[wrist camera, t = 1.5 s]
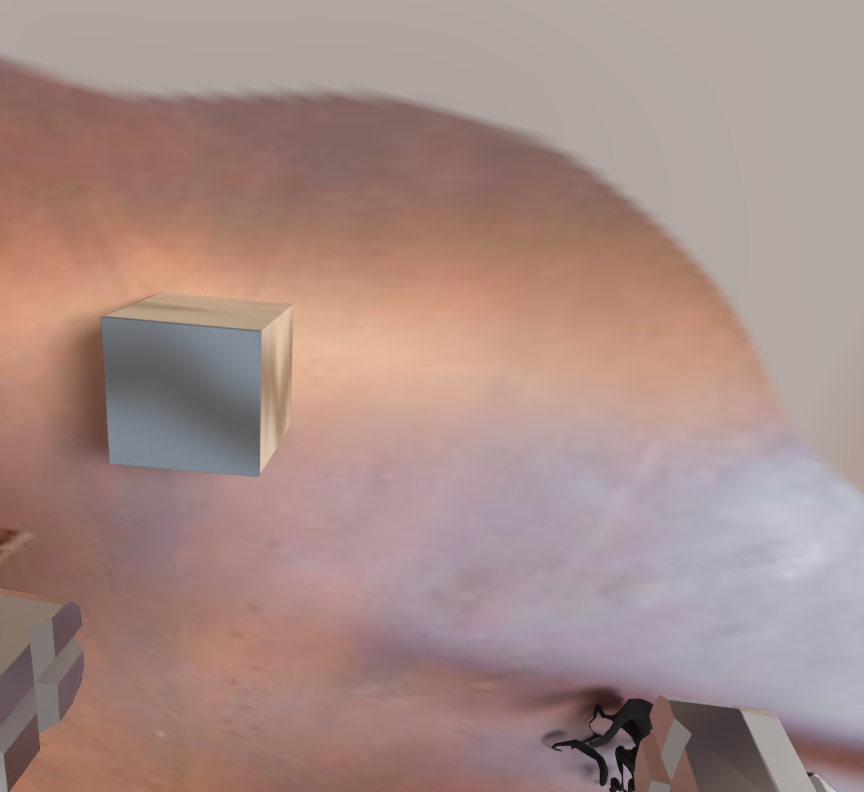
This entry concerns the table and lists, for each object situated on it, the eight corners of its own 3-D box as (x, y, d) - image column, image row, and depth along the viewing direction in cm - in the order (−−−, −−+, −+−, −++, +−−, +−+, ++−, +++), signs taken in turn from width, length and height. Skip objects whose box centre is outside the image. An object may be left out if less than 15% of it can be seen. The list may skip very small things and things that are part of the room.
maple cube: (290, 425, 33) (257, 477, 28) (167, 414, 33) (109, 463, 28) (293, 303, 32) (259, 332, 26) (163, 291, 32) (100, 317, 26)
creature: (677, 763, 41) (709, 675, 37) (705, 862, 36) (745, 774, 32) (544, 756, 41) (561, 668, 37) (555, 854, 36) (576, 766, 32)
